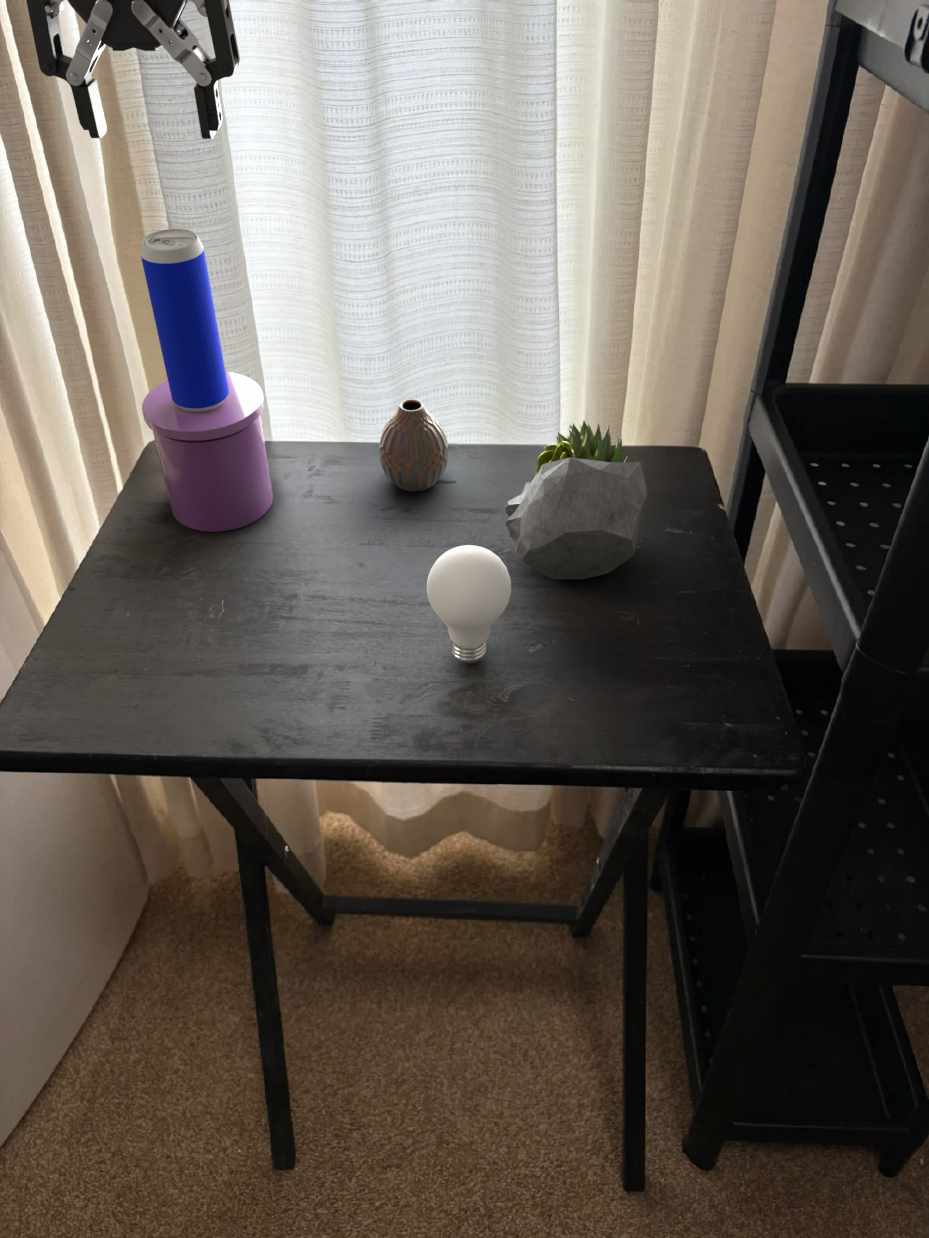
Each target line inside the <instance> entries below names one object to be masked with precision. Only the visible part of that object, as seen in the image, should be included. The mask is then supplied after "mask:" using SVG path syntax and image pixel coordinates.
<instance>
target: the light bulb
mask: <svg viewBox="0 0 929 1238" xmlns="http://www.w3.org/2000/svg"><path fill="white" fill-rule="evenodd" d="M426 581H427V582H426V593H427V598H428V599H427V600H428V602H429V604H430V606H431V609H432V610H433V612H434V613H435V614H436V615H437V617H438V618H439V619H440V620H441V621H442V622H443V623H444V624H445V626H446V627H447V633H448V636H449V639H450V646H451V648H450V650H451V654H452V656H453V657H454V658H455V659H456V660H457V661H459V662H461V663H464V664H475V663H477V662H480V661H481V660H482V659H483V658H484V657H485V655H486V653H487V650H488V639H489V637H490V633H491V628H492V626H493V625H494V624H495V622H496V621H497V620H498V619H499V617H500V616H501V615H502V614H504V612H505V610H506V609H507V606H508V604H509V602H510V598H511V595H512V583H511V582H512V581H511V576H510V573H509V570H508V568H507V566H506V565H505V564H504V562H503V561H502V559H501V558H500V556H498V555H497V554H495V553H494V552H493V551H491V550H490V549H488V548H485V547H483V546H478V545H472V544H466V545H465V544H464V545H459V546H455V547H453V548H450V549H448V550H446V551H445V552H444V553H443V554H441V555H440V556H439V557H438V558H437V559H436V561H435V562H434V564H433V565H432V567H431V568H430V570H429V573H428V577H427V580H426Z"/></svg>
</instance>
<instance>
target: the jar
mask: <svg viewBox="0 0 929 1238" xmlns="http://www.w3.org/2000/svg"><path fill="white" fill-rule="evenodd" d="M225 372H226V378H227V383H228V389H229V394H228V396H227V398H226V400H225V401H224V403H223V404H222V405H220V406H219V407H217V408H215V409H213V410H210V411H206V412H189V411H185V410H183V409H181V408H180V407H179V406H177V405H176V404H175V403H174V402H173V400H172V397H171V392H170V387H169V383H168V379H167V380H165V381H163V382H162V383H159V384H158V385H156V386H155V387H153V388H152V389H151V390H150V391H149V392H148V393H147V394H146V395H145V397H144V398H143V401H142V403H141V411H142V416H143V420H144V422H145V424H146V426H147V427H148V428H149V429H150V430H151V431H152V434H153V438H154V442H155V446H156V450H157V454H158V455H157V456H158V458H159V462H160V467H161V471H162V475H163V479H164V485H165V488H166V493H167V497H168V501H169V505H170V510H171V514H172V515H173V517H174V518H175V520H176V521H178V522H179V523H180V524H181V525H183V526H184V527H187V528H189V529H192V530H195V531H200V532H211V533H215V532H217V533H219V532H228V531H233V530H236V529H237V530H238V529H240V528H243V527H246V526H248V525H251V524H252V523H254V522H256V521H258V520H259V519H262V517H263V516H264V515H265V514H267V513H268V511H269V510H270V508H271V506H272V504H273V503H274V502H273V501H274V492H273V485H272V479H271V472H270V467H269V460H268V454H267V447H266V441H265V433H264V429H263V428H264V427H263V420H262V413H263V411H264V408H265V399H264V393H263V389H262V388H261V386H260V385H259V384H258V383H257V382H256V381H255V380H254V379H252V378H250V377H248V376H246V375H243V374H239V373H236V372H231V371H225Z"/></svg>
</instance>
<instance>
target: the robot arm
mask: <svg viewBox="0 0 929 1238" xmlns="http://www.w3.org/2000/svg"><path fill="white" fill-rule="evenodd" d="M65 1H67V3H68V5H69V6H70V7H71V8H72V9H73V10H74V11H75V13H76V14H77V15H78V16H79V17H80V18H81V19H82V21H84V23H85V24H86V25H85V27H84V29H83V31H82V34H81V36H80V39H79V41H78V43H77V45H76V47H75V51H74V54H73V57H71V56H69V55H66V51H65V45H64V40H63V36H62V35H63V34H62V30H61V29H62V28H61V24H60V20H59V15H60V14H62V13H63V11H64V10H65V5H64V4H65ZM188 1H191V2H192V3H193V4H194V5H195V7H196V10H197V12H198V13H199V15H200V16H202V17H205V18H207V22H208V28H209V33H210V37H211V41H212V42H211V43H212V47H213V52H214V57H213V58H211V56H210V55H209V54H208V53H207V52H206V50H204V48H203V47H202V46H201V45H200V42H199V40H198V38H197V37H196V35H195V33H193V32H192V30H191V29H190V28H189V26H188V25H187V24H186V23H185V22H184V21H183V20H182V18H181V16H182V14H183V12H184V10H185V8H186V5H187V3H188ZM25 2H26V5H27V10H28V11H27V12H28V17H29V22H30V27H31V33H32V36H33V42H34V46H35V47H34V48H35V51H36V56H37V62H38V67H39V70H40V71H41V73H42V74H43V75H44V76H46V77H56V78H59V79H62V80H64V81H65V82H66V83H67V84H68V85H69V87H70V89H71V92H72V97H73V101H74V105H75V109H76V113H77V118H78V122H79V125H80V126H81V128H82V130H83V131H88V133H89V134H88V135H89V137H90V138H91V139H102V138H103V137H104V136H105V135H106V134H107V132H108V131H107V130H108V129H107V128H108V127H107V121H106V117H105V113H104V107H103V104H102V99H101V94H100V91H99V86H98V85H99V84H98V80H97V79H96V78H93V77H92V74H93V71H94V69H95V67H96V65H97V63H98V60H99V59H100V57H101V55H102V53H103V51H104V50H105V48H106V46H107V47H108V48H111V49H112V51H113V52H125V51H128V50H131V49H137V50H140V51H143V52H156V51H157V50H158V49H160V48H163V49H165V51H166V52H167V53H168V54H169V55H170V56H171V58H172V59H173V60H174V61H175V62H177V63H179V64H180V65H181V66H182V67H183V68H184V69H185V70H186V72H187V73H188V74H189V75H190V76H191V78H193V80H194V81H195V82H196V84H195V86H194V87H193V92H194V100H195V104H196V111H197V117H198V122H199V128H200V129H199V130H200V134H201V138H202V140H213V139H214V138H215V136H216V134H217V132H218V131H219V130H220V128H221V126H222V123H223V120H224V119H223V112H222V111H223V110H222V105H221V97H220V91H219V81H220V80H221V79H224V78H230V77H232V76H233V75H234V74H235V72H236V69H237V68H238V67H240V65H241V56H240V52H239V51H240V50H239V46H238V41H237V36H236V30H235V25H234V20H233V15H232V9H231V3H230V0H25Z"/></svg>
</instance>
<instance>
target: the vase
mask: <svg viewBox="0 0 929 1238" xmlns="http://www.w3.org/2000/svg"><path fill="white" fill-rule="evenodd" d="M378 456H379V462H380V465H381V469H382V470H383V472H384V474H385V476H386V477H387V479H388V480H389V481H390V483H392V484H393V485H395V486H396V487H398V488H399V489H402V490H404V491H408V492H421V491H425V490H427V489H430V488H431V487H432V486H434V485H435V484H436V483H438V481H440V479H441V478H442V477H443V475H444V473H445V471H446V468H447V465H448V461H449V443H448V439H447V436H446V432H445V430H444V428H443V427H442V424H441V423H440V422H439V421H438V419H437V418H436V417H435V416H433V414H431V412H429V410H428V409H427V408H426V405H425V404H424V402H423V401H421V400H420V399H415V398H414V399H413V398H410V399H409V398H408V399H405V400H403V401H401V402H400V403H399V404H398V407H397V409H396V411H395V413H394V414H393V415H392V416H391V417H390V419H389V420H388V421H387V422H386V424H385V425H384V427H383V429H382V431H381V435H380V439H379V444H378Z"/></svg>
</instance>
